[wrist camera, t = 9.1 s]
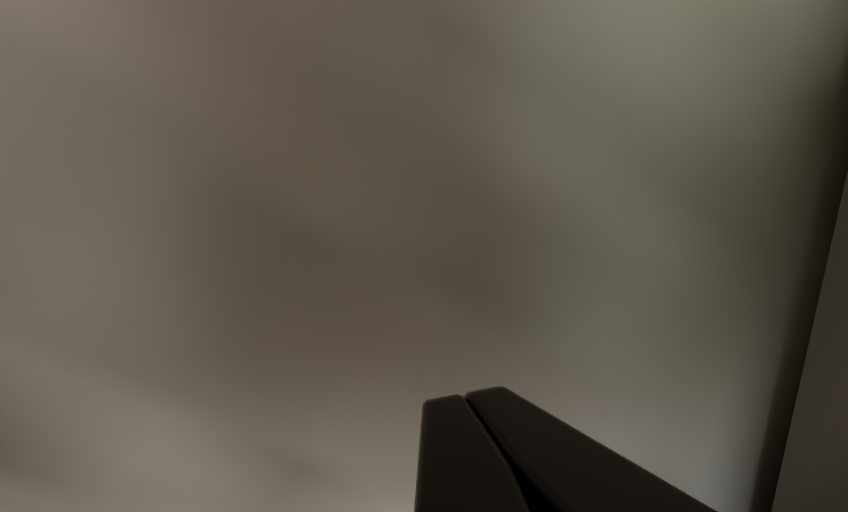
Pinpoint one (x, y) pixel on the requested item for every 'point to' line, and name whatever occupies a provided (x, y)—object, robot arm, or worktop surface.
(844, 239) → the tray
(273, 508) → the worktop surface
